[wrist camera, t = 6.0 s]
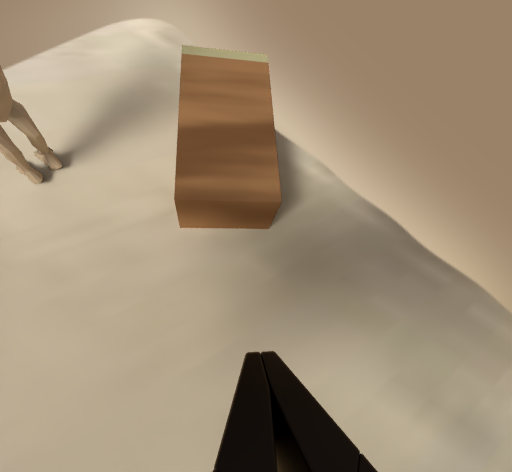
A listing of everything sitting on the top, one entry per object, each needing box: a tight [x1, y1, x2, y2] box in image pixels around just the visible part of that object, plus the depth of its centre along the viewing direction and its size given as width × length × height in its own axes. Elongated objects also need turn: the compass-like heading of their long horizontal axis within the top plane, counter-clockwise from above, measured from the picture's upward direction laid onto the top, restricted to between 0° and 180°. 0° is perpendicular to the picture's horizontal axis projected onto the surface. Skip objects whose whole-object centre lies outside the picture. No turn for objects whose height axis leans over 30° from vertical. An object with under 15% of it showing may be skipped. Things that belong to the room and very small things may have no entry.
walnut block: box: [174, 45, 282, 229], centre depth 21 cm, size 4×6×12 cm
